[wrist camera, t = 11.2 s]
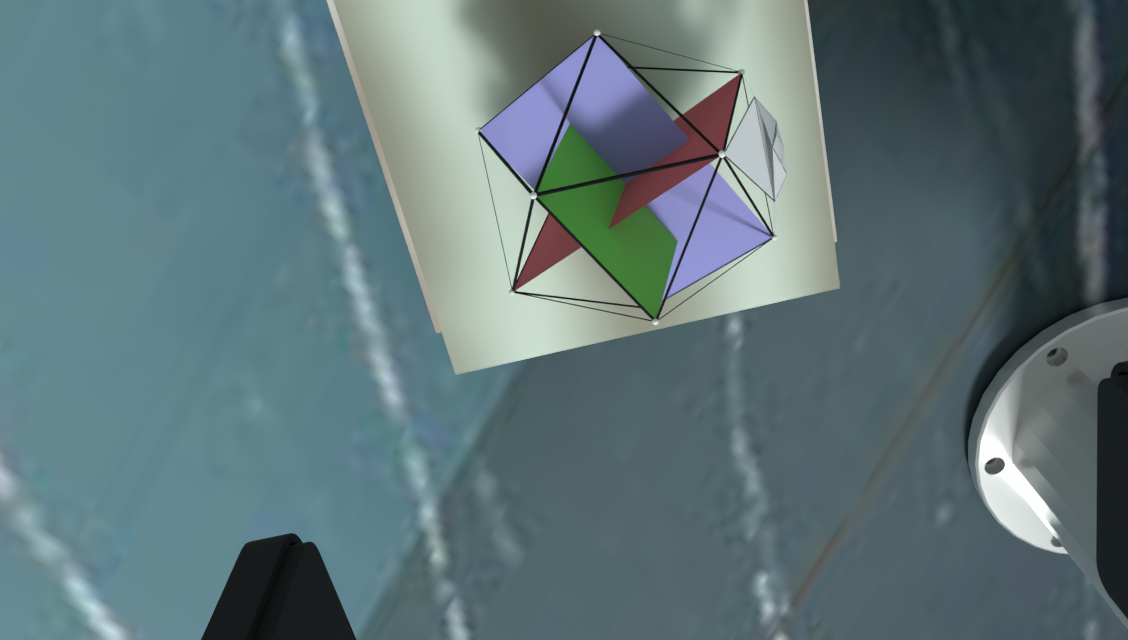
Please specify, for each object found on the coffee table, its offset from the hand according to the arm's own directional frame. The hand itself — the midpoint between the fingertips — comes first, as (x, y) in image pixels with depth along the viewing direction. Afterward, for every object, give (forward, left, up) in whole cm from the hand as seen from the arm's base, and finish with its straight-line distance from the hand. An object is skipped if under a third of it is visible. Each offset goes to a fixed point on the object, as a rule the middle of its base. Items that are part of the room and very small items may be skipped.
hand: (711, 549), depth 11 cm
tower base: (0, -1, -26) cm, 26 cm away
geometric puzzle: (0, 0, -17) cm, 17 cm away
